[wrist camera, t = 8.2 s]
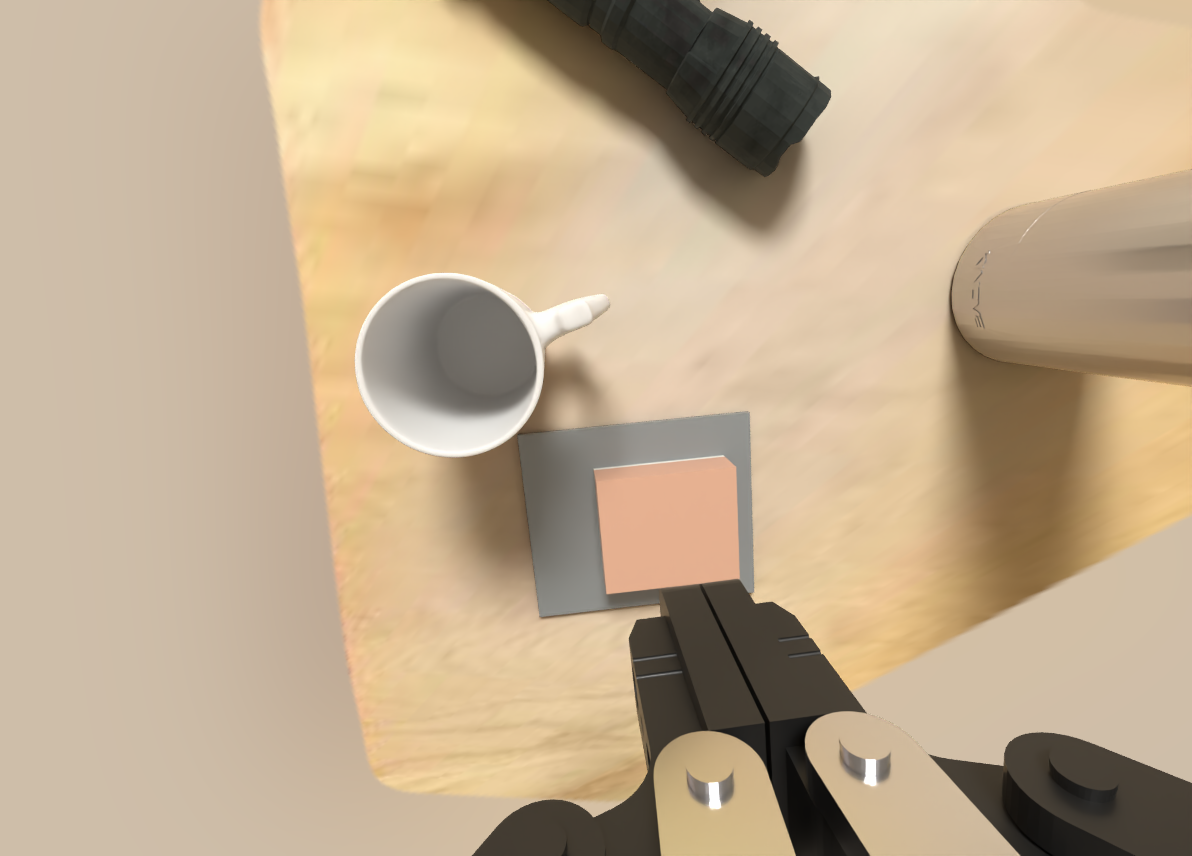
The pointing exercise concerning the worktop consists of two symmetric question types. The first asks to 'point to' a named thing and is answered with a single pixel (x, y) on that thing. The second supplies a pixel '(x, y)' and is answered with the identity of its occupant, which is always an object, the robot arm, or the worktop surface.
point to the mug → (458, 361)
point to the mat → (569, 502)
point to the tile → (668, 523)
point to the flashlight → (713, 72)
